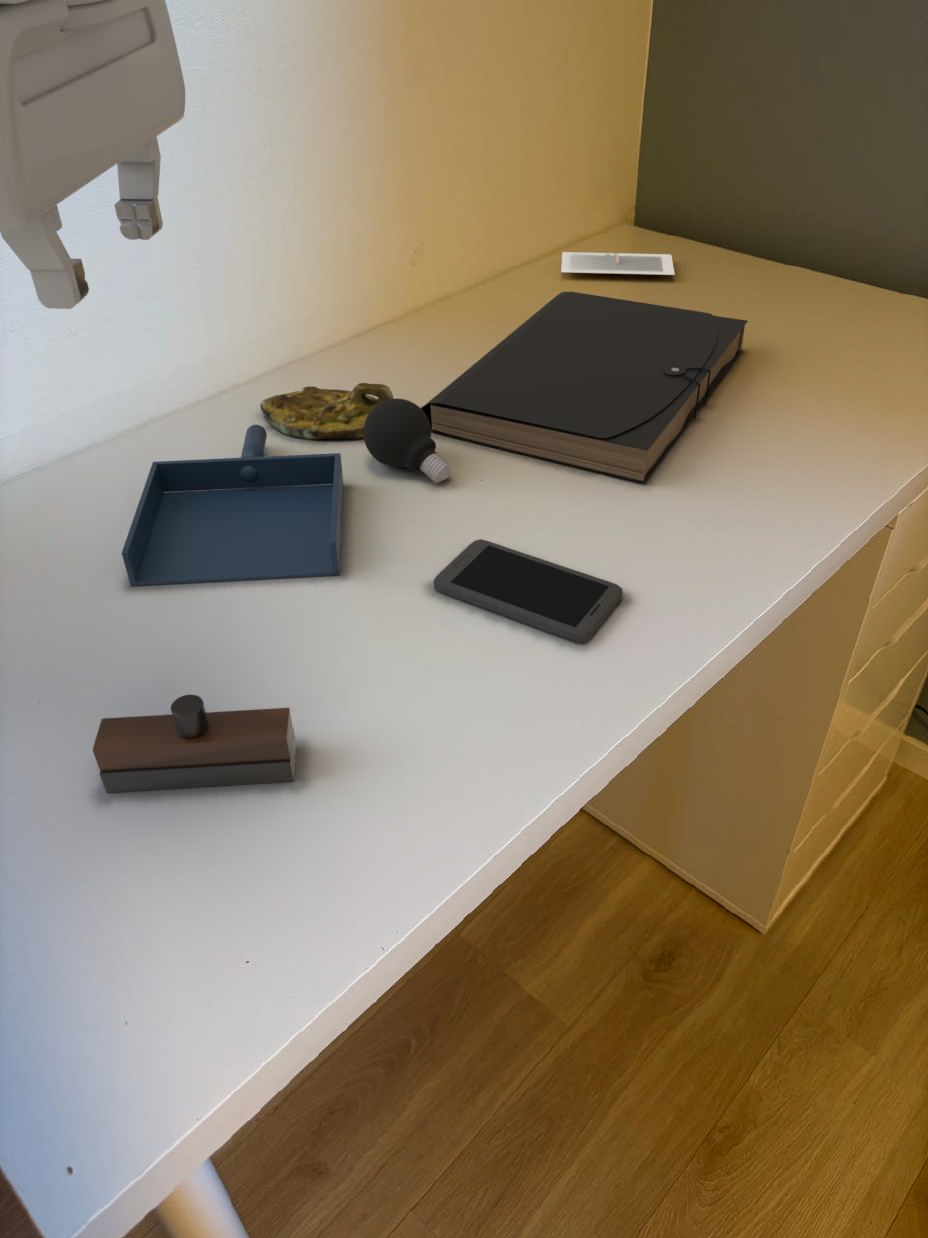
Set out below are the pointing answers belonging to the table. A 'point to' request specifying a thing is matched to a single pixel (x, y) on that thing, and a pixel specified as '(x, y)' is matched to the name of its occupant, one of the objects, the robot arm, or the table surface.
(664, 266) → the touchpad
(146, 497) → the dustpan
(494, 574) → the cell phone
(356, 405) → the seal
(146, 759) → the wiper
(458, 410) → the black leather journal
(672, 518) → the table surface
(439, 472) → the light bulb
